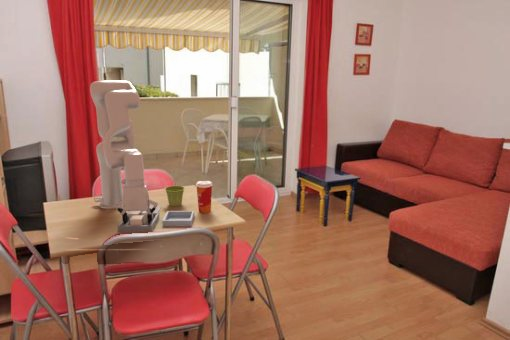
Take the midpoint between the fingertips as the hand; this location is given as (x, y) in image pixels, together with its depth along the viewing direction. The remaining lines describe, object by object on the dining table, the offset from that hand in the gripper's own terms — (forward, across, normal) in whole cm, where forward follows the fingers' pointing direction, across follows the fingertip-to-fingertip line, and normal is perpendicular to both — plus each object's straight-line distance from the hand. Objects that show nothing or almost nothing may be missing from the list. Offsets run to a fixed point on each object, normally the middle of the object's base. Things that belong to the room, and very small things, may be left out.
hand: (137, 222), depth 165 cm
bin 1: (+3, 0, +4) cm, 5 cm away
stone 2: (+2, +3, +8) cm, 9 cm away
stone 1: (+2, -3, +8) cm, 9 cm away
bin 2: (+3, +16, +8) cm, 18 cm away
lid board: (+2, -2, +20) cm, 20 cm away
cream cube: (+2, 0, 0) cm, 2 cm away
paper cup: (+3, +26, +22) cm, 34 cm away
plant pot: (+3, +11, +31) cm, 33 cm away
